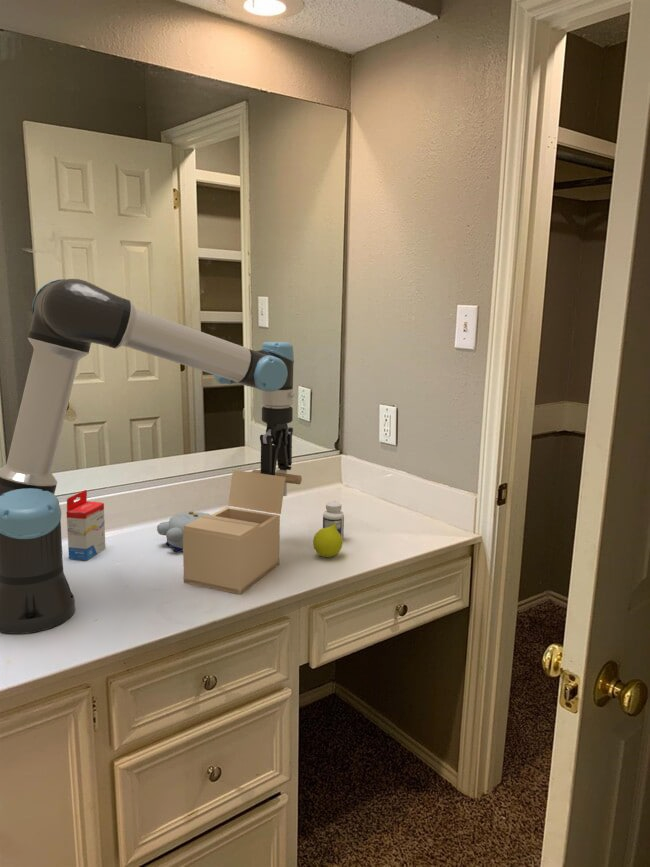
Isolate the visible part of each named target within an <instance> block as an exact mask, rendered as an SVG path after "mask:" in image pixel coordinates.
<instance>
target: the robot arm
mask: <svg viewBox="0 0 650 867" xmlns="http://www.w3.org/2000/svg"><path fill="white" fill-rule="evenodd" d="M31 307H32V310H31V312H32V319H31V323H30V324H31V325H30V328H29V333H28V337H27V340H28V341H29V343H30V344H31V346H32V347H33V348H32V349H33V352H32V356H31V360H30V364H29V369H28V372H27V378H26V381H25V385H24V390H23V394H22V398H21V402H20V407H19V410H18V414H17V415H18V416H17V419H16V423H15V427H14V431H13V436H12V439H11V440H12V441H11V443H10V447H9V453H8V457H7V461H6V464H5V465H4V466H2V467H0V632H1V633H5V634H29V633H34V632H35V633H36V632H40V631H45V630H48V629H51V628H54V627H56V626H59V625H60V624H63V623H65V622H66V621H67V620H69V619H70V618H71V617H72V616H73V615H74V613H75V611H76V606H75V605H76V604H75V603H76V600H75V596H74V594H73V592H72V591H71V587H70V584H69V583H68V580H67V578H66V575H65V573H64V561H63V560H64V559H63V557H64V556H63V541H62V540H63V539H62V538H63V537H62V522H61V520H62V509H61V506H60V501H59V499H58V497H57V496H56V495H55V493H56V490H57V484H58V480H57V479H56V477H55V476H54V474H53V467H54V464H55V459H56V455H57V452H58V446H59V444H60V438H61V435H62V431H63V427H64V422H65V420H66V419H65V418H66V416H67V415H66V413H67V410H68V405H69V403H70V402H69V401H70V399H71V398H70V397H71V393H72V389H73V386H74V382H75V377H76V374H77V369H78V364H79V361H80V360H81V359H83V358H84V357H85V358H86V357H87V356H88V355H89V354H90V350H91V345H92V344H97V345H101V346H104V347H105V346H106V347H108V348H112V349H115V350H117V349H120V348H121V347H125V348H129V349H133V350H136V351H138V352H142V353H145V354H148V355H152V356H154V357H158V358H160V359H164V360H166V361H170V362H173V363H176V364H180V365H183V366H186V367H189V368H192V369H195V370H198V371H202V372H205V373H208V374H211V375H213V376H214V379H215V381H216V382H217V383H218V384H225V385H226V384H228V385H233V384H235V385H236V384H239V385H242V386H245V387H246V386H247V387H250V388H254V389H257V390H260V391H261V404H262V407H261V421H262V422H263V423H265V424H266V430H265V434H260V435H259V441H260V470H261V474H268V475H275V472H277V473H285V474H288V471H291V470H292V462H293V461H292V460H293V451H292V450H293V432H294V428H293V427H289V426H288V424H290V423H292V422H293V413H294V410H293V407H292V405H293V404H294V403H293V401H294V400H293V399H294V397H295V394H294V363H295V359H294V358H295V357H294V356H295V355H294V347H293V344H292V343H290V342H288V341H265V342H263V343H262V346H261V350H254V349H249V348H248V347H246V346H242V345H240V344H236V343H234V342H231V341H228V340H226V339H223V338H220V337H218V336H214V335H211V334H208V333H205V332H204V331H200V330H197V329H194V328H192V327H189V326H186V325H183V324H181V323H178V322H176V321H172V320H171V319H166V318H164V317H161V316H158V315H155V314H153V313H151V312H147V311H145V310H141V309H139V308H136V307H135V305H134V304H133V302H132V301H131V300H130V299H126V298H123V297H122V296H119V295H116V294H114V293H112V292H110V291H107V290H105V289H103V288H102V287H99V286H97V285H95V284H93V283H91V282H88V281H86V280H83V279H80V278H68V279H65V278H62V279H56V280H55V279H54V280H51V281H50V282H47V283H46V284H44V285H42V286H41V287H40V289H39V290H38V291H37V292H36V294H35V296H34V297H33V300H32V305H31ZM275 476H276V475H275ZM287 496H288V483H285V485H284V493H283V497H287Z"/></svg>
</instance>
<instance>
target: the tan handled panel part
mask: <svg viewBox="0 0 650 867" xmlns="http://www.w3.org/2000/svg"><path fill="white" fill-rule="evenodd" d="M275 475H276V476H275ZM275 475H268V474H261V469H253V470H252V471H246V470H245V471H243V470H237V469H232V474H231V480H230V488H229V494H228V502H227V507H231V508H237V509H244V510H250V511H256V512H263V513H269V514H275V515H281V514H282V510H283V508H282V507H283V499H284V496H283V493H284V485H285V483H287V484H294V485H300V484H301V483H302V481H303V480H302V475H301V474H300V475H298V474H290V473H287V474H285V473H277V472H276V471H275Z"/></svg>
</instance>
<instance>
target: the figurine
mask: <svg viewBox="0 0 650 867" xmlns="http://www.w3.org/2000/svg"><path fill="white" fill-rule="evenodd" d="M204 515H211V514H210V513H205V512H199V511H198V512H196V511H195V512H194V511H192V510H191V511H190V510H189V511H188V512H180V513H177V514H174V515H173V516H171V517H169V520H168V521H163V522H162V521H161V522H160V523H158V524H157V526H156V531H157V533H158V535H161V536H166V542H165V546H166V547H171V548H173V550H174V552H182V551H183V529H184V526H185V525H187V524H189V523H191V522H193V521H195V520H197V519H199V518H201V517H202V516H204Z"/></svg>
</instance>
